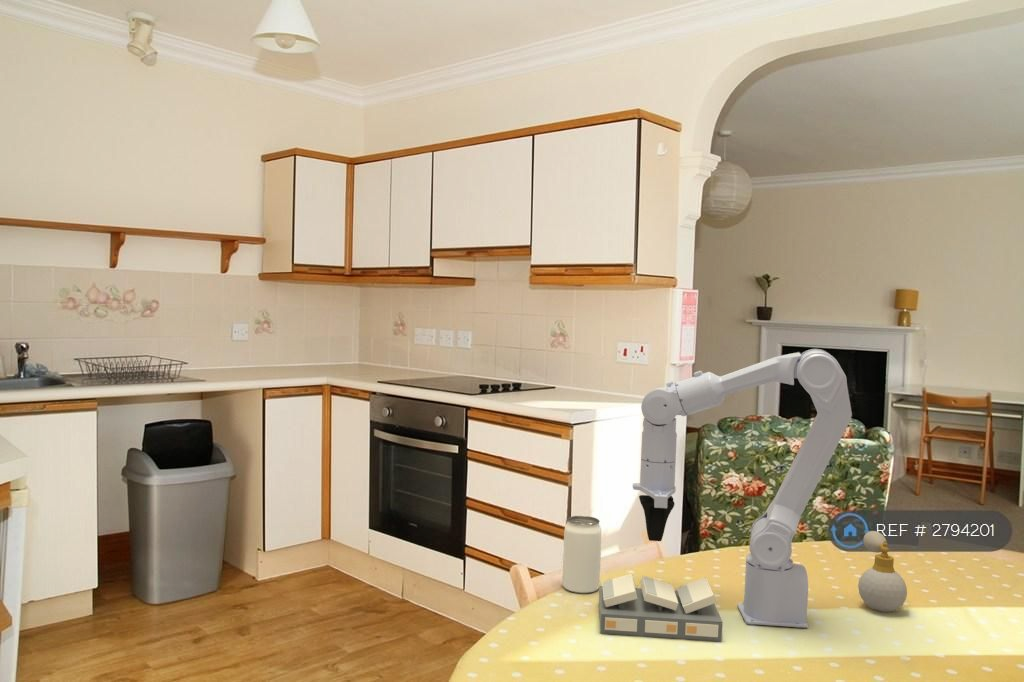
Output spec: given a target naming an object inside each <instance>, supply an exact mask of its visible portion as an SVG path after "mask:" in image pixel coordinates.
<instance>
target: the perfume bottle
mask: <svg viewBox="0 0 1024 682" xmlns="http://www.w3.org/2000/svg"><path fill="white" fill-rule="evenodd" d="M862 540H863V545H864V546H865V547H866V549H868V550H869V551H870V552H873V553H876V554H875V555H874V563H873V565H872V567H869V568H867V569H866V570H865V571H863V573H862V574H861V576H860V577H859V579H858V585H857V587H858V588H857V589H858V593H859V596H860V598H861V600H862V601H863V602H864V604H865V605H866V606H867V607H869V608H870V609H872V610H874V609H875V610H874V611H877V610H878V611H877V612H882V611H883V612H884V613H890V612H891V613H892V612H894V611H898V610H899V609H900V608H901V607H902V606H903V605H904V603H905V601H906V600H907V597H908V596H907V595H908V590H907V589H908V588H907V585H906V582H905V580H904V578H903V577H902V576H901V574H900V573H898V572H897V571H896V570H895V568H894V564H895V563H894V560H895V558H894V557H893V556H891V555H889V554H888V553H889V551H890V549H889V547H888V540H887V539H886V537H885V536H884V535H883V534H882V533H881V532H879V531H876V530H870V531H868V532H866V533H865V534H864V536H863V539H862ZM877 553H879V554H877Z"/></svg>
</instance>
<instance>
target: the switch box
mask: <svg viewBox="0 0 1024 682" xmlns="http://www.w3.org/2000/svg"><path fill="white" fill-rule="evenodd" d="M635 589H636V594H637V599H635V600H631V601H627V602H624V603H620V604H616V605H613V606H609V607H606V606H605V603H604V598H603V585H599V588H598V611H599V629H600V634H603V633H604V635H605V634H606V635H618V636H619V635H620V636H635V637H647V638H648V637H650V638H652V637H653V638H664V639H677V640H678V639H681V640H692V641H694V640H695V641H705V642H706V641H707V642H723V641H722V639H723V620H722V618H721V615H720V612H719V610H718V609H717V606H716V603H714V604H711V605H709V606H706V607H703V608H701V609H698V610H695V611H693V612H690V613H687V614H686V613H685V611H684V608H683V606H682V603H681V599H680V596H679V593H678V590H674V591H675V594H676V597H677V601H678V606H677V609H676V610H673V609H669V608H666V607H663V606H660V605H657V604H653V603H650V602H647V601H644V597H643V592H642V588H636V587H635Z"/></svg>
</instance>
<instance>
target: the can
mask: <svg viewBox="0 0 1024 682" xmlns="http://www.w3.org/2000/svg"><path fill="white" fill-rule="evenodd" d="M566 520H567V522H566V524H565V526H564V532H563V533H564V534H563V553H562V554H563V556H562V558H563V559H562V587H563V588H564V589H565V590H566V591H567V592H570V591H571V592H570V593H573V592H574V593H573V594H581V595H583V594H584V595H585V594H587V595H588V594H592V593H595V592H597V591H598V590H599V587H600V581H601V580H600V579H601V578H600V577H601V558H602V556H601V555H602V551H601V550H602V532H603V531H602V527H601V525H600V520H599V519H598V518H596V517H593V516H587V515H573V516H569V517H568V518H567V519H566Z"/></svg>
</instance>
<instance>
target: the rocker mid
mask: <svg viewBox="0 0 1024 682" xmlns="http://www.w3.org/2000/svg"><path fill="white" fill-rule="evenodd" d="M640 587H641V588H640V589H642V592H643V597H644V601H647V602H650V603H653V604H657V605H660V606H663V607H666V608H669V609H673V610H676V609H677V606H678V601H677V597H676V594H675V591H676V590H675V589H674V586H673V584H671V583H668V582H665V581H662V580H658V579H655V578H652V577H648V576H645V575H642V576H641V580H640Z"/></svg>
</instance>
